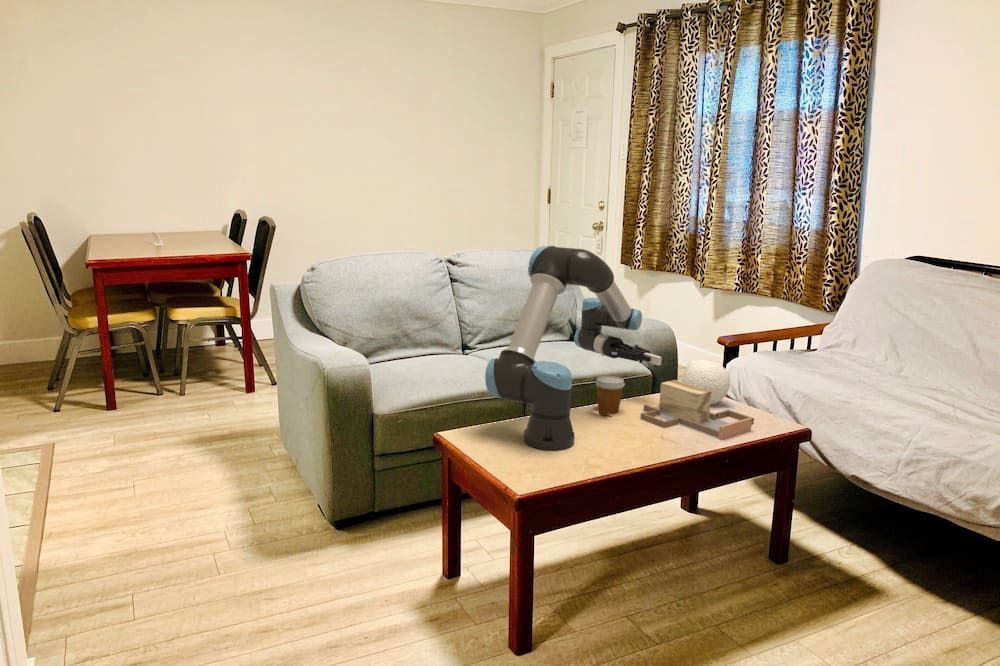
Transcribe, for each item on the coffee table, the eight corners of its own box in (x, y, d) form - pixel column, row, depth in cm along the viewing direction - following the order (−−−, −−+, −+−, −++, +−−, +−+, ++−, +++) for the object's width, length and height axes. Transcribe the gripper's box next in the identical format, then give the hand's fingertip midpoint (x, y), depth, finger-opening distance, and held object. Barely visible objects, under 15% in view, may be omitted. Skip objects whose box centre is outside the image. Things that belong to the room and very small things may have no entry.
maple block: (694, 424, 243) (697, 394, 241) (658, 411, 254) (661, 383, 252) (708, 420, 247) (711, 391, 245) (672, 408, 259) (674, 379, 256)
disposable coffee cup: (624, 419, 250) (626, 384, 247) (595, 418, 250) (597, 383, 247) (620, 409, 259) (622, 375, 256) (592, 408, 259) (594, 374, 256)
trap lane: (706, 448, 227) (708, 431, 226) (627, 417, 251) (628, 402, 250) (762, 430, 244) (764, 414, 242) (683, 403, 268) (684, 388, 267)
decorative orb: (696, 415, 256) (701, 369, 252) (662, 399, 271) (666, 356, 268) (741, 407, 265) (745, 363, 261) (705, 393, 280) (709, 351, 277)
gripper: (621, 353, 280) (671, 369, 262) (595, 358, 272) (645, 375, 254) (622, 333, 278) (673, 347, 260) (596, 338, 270) (647, 353, 252)
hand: (659, 361), depth 257 cm, fingers closed
